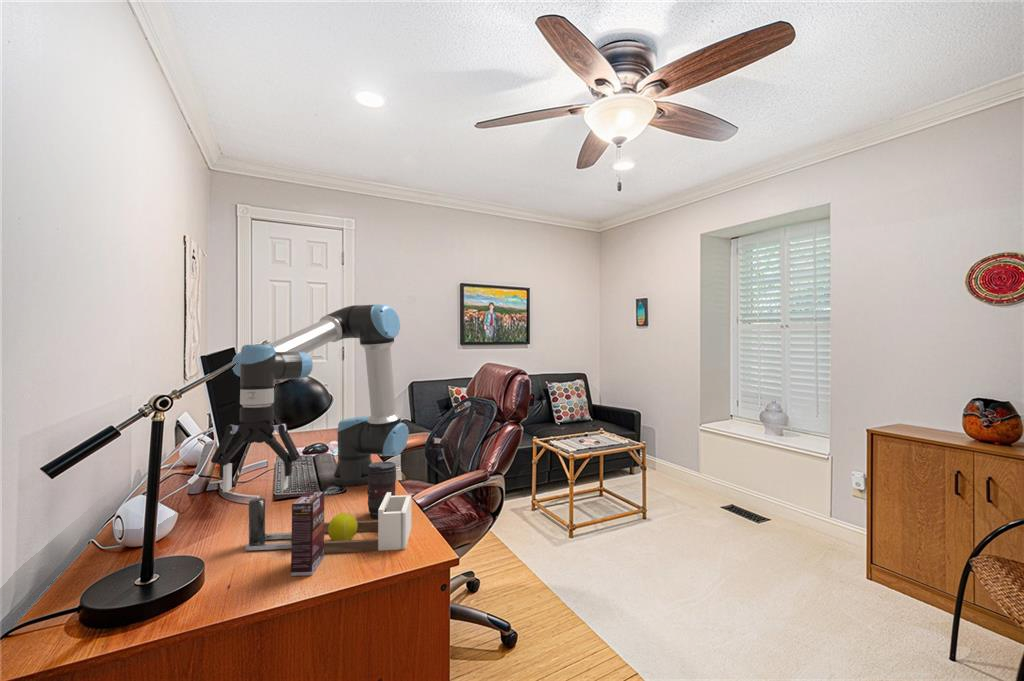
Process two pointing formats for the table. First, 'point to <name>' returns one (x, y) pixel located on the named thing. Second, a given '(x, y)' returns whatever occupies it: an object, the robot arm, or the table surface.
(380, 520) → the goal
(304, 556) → the supplement box
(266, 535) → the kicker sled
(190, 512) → the table surface
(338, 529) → the tennis ball
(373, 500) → the camera lens
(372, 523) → the rails
